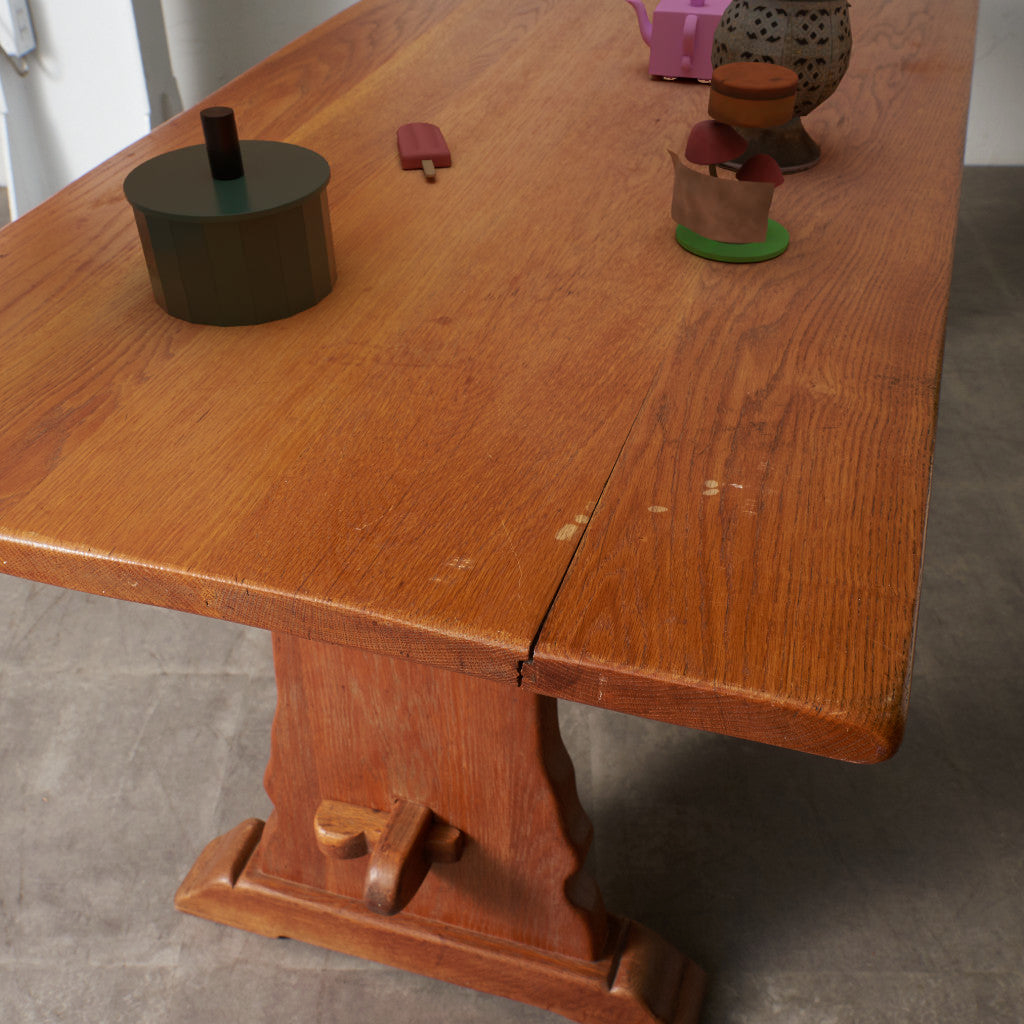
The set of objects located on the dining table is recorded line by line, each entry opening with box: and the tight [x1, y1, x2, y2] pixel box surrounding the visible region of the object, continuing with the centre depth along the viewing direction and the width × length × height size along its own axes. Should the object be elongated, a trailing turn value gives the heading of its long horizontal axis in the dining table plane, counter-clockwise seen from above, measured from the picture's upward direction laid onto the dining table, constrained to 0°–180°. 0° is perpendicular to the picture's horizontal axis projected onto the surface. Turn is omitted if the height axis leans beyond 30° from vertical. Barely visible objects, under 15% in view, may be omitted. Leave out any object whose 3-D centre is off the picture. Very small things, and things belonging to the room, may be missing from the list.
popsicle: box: [396, 121, 452, 178], centre depth 112 cm, size 5×2×15 cm
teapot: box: [624, 0, 732, 81], centre depth 134 cm, size 18×14×10 cm
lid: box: [122, 106, 332, 223], centre depth 80 cm, size 16×16×6 cm
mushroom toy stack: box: [666, 62, 799, 263], centre depth 91 cm, size 12×13×15 cm
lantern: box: [711, 0, 854, 175], centre depth 106 cm, size 14×14×25 cm
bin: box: [131, 186, 338, 328], centre depth 85 cm, size 15×16×10 cm
